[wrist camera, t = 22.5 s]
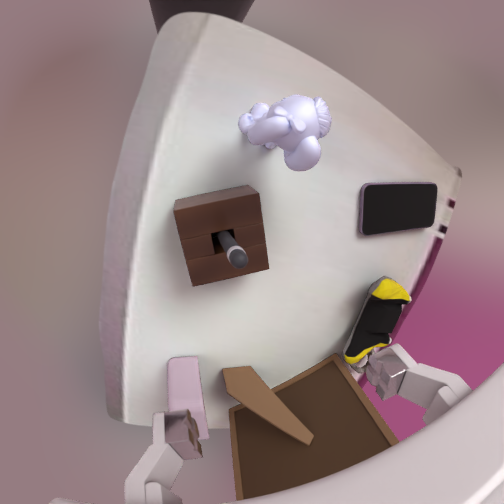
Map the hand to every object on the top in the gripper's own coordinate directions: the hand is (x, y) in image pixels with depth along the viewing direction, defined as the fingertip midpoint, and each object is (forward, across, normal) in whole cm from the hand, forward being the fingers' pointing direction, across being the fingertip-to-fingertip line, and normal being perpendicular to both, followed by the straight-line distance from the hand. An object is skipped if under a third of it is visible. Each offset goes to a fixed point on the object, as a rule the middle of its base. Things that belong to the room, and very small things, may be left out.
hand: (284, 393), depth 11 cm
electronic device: (+23, +10, +22) cm, 34 cm away
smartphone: (+24, -26, +2) cm, 35 cm away
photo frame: (+23, -4, +27) cm, 36 cm away
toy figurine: (+24, -7, -10) cm, 27 cm away
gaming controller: (+24, -21, +19) cm, 37 cm away
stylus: (+23, 0, 0) cm, 23 cm away
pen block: (+23, 0, 0) cm, 23 cm away
